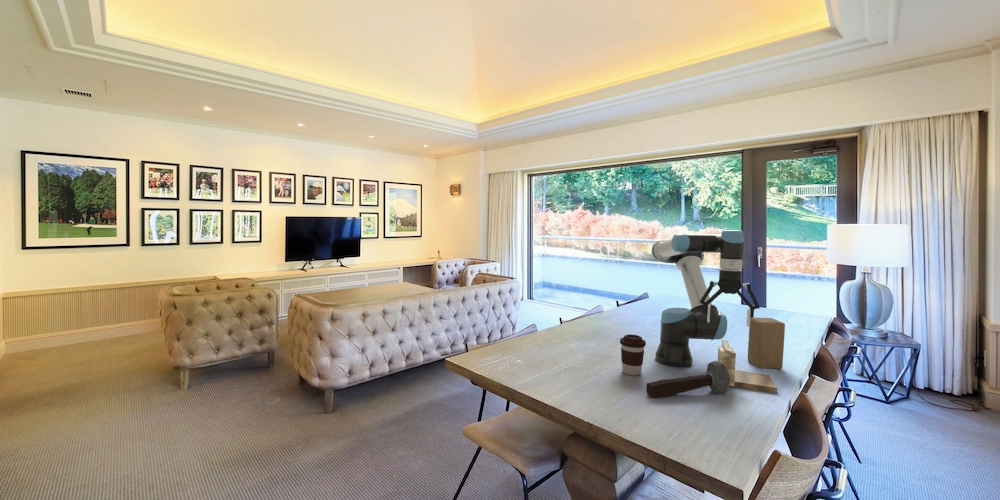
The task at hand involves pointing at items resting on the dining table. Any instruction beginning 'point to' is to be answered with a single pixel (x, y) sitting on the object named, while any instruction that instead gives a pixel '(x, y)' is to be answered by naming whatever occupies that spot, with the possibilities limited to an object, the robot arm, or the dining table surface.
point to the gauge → (728, 359)
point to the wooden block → (766, 342)
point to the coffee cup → (632, 354)
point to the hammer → (692, 382)
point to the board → (754, 381)
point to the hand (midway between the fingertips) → (727, 323)
